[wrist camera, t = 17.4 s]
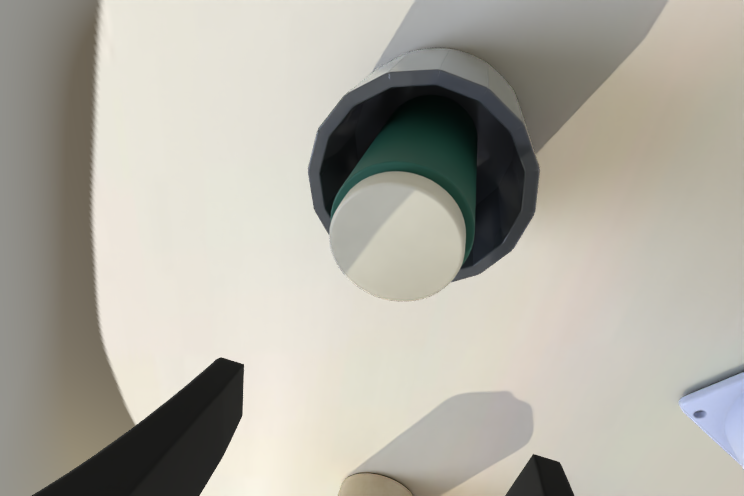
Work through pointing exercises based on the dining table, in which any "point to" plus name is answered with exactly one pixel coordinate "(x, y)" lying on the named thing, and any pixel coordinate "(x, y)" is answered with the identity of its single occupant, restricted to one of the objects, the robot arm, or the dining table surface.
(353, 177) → the cylinder
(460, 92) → the cup
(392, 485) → the candle
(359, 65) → the dining table surface
